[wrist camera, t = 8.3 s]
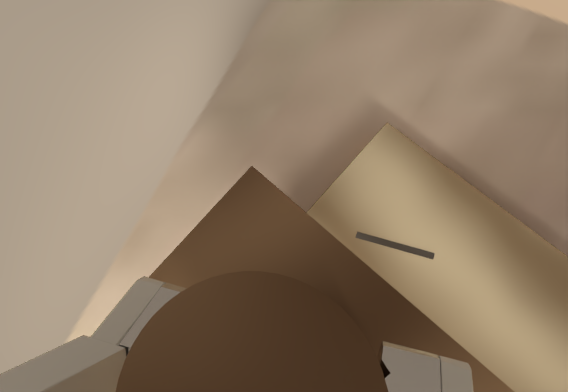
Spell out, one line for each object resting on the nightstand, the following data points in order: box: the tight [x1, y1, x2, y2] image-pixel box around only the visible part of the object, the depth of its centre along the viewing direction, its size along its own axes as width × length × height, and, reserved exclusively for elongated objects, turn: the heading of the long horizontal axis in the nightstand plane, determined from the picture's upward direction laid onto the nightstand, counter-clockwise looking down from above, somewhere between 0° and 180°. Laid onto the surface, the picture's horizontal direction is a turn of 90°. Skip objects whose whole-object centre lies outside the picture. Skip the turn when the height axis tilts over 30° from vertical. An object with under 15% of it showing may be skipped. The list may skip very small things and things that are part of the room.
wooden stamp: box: [116, 166, 514, 392], centre depth 9 cm, size 8×6×8 cm
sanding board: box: [307, 123, 568, 392], centre depth 21 cm, size 13×15×2 cm
